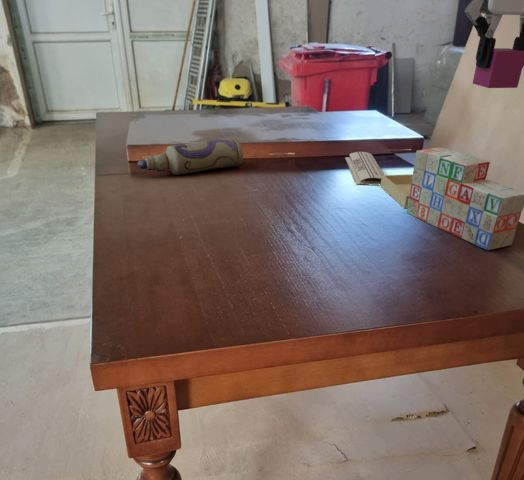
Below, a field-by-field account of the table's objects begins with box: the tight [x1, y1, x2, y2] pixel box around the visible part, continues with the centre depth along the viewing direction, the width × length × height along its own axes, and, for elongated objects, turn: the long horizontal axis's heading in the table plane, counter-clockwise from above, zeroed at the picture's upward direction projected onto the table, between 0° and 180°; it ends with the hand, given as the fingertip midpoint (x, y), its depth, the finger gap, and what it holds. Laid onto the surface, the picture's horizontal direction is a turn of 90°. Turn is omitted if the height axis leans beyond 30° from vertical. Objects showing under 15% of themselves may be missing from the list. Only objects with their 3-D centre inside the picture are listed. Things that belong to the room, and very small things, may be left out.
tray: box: [379, 173, 413, 209], centre depth 114 cm, size 11×15×3 cm
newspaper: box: [344, 151, 385, 186], centre depth 130 cm, size 24×7×2 cm, turn 179°
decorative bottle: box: [136, 137, 244, 176], centre depth 125 cm, size 26×8×7 cm, turn 119°
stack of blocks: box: [406, 146, 524, 251], centre depth 95 cm, size 21×6×12 cm, turn 27°
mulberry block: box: [472, 47, 524, 89], centre depth 82 cm, size 5×5×5 cm
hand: (499, 65), depth 82 cm, fingers closed on mulberry block, 5 cm apart
